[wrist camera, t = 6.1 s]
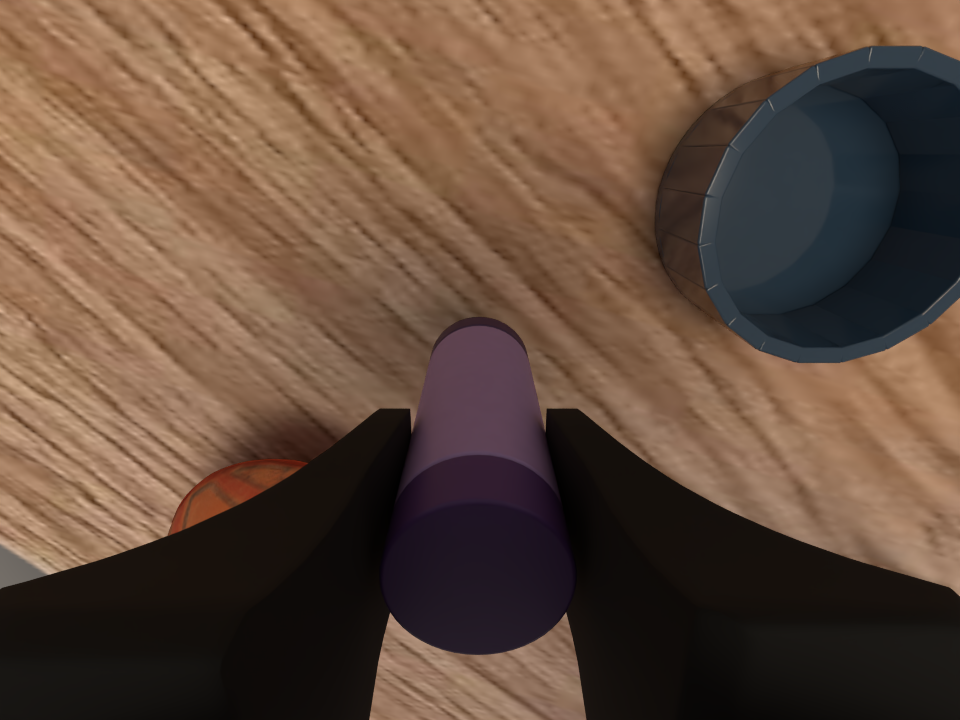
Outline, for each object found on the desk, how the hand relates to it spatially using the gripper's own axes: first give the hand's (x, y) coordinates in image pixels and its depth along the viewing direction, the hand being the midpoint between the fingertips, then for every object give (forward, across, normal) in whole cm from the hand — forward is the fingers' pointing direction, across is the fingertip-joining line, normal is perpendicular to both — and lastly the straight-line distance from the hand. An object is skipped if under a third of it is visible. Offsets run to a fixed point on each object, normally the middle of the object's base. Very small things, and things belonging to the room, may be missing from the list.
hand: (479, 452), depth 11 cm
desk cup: (+9, -10, -4) cm, 14 cm away
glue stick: (+5, 0, 0) cm, 5 cm away
